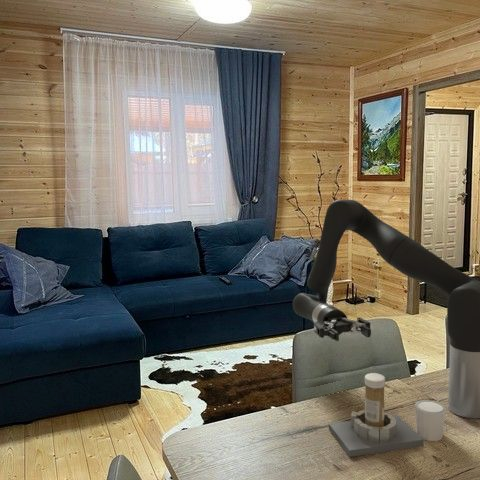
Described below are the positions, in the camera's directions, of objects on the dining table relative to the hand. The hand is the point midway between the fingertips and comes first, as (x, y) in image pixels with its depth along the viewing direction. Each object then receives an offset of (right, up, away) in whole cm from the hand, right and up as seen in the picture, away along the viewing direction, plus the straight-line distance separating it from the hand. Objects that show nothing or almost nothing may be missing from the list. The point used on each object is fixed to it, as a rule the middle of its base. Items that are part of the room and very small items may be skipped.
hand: (353, 335), depth 122 cm
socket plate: (+3, -22, -9) cm, 24 cm away
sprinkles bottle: (+3, -21, -9) cm, 23 cm away
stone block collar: (+3, -21, -9) cm, 23 cm away
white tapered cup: (+16, -22, -8) cm, 28 cm away
